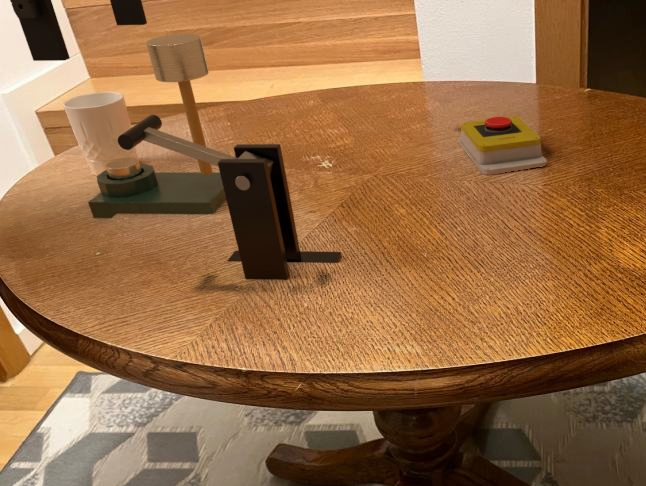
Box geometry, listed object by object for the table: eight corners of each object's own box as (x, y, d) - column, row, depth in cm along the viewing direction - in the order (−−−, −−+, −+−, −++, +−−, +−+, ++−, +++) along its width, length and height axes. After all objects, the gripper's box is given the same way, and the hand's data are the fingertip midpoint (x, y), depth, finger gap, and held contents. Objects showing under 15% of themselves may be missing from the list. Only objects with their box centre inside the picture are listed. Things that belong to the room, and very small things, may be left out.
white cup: (85, 166, 108) (61, 97, 103) (140, 155, 111) (120, 88, 106) (89, 183, 103) (64, 111, 97) (147, 171, 105) (126, 101, 100)
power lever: (116, 151, 67) (117, 127, 66) (146, 130, 72) (148, 107, 71) (255, 199, 68) (259, 176, 67) (275, 175, 73) (279, 153, 72)
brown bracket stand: (205, 301, 74) (168, 170, 66) (237, 259, 81) (207, 137, 73) (320, 304, 72) (297, 170, 65) (342, 261, 80) (324, 136, 72)
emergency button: (515, 104, 110) (550, 134, 98) (515, 133, 112) (549, 166, 100) (455, 111, 108) (483, 143, 96) (456, 140, 110) (483, 175, 98)
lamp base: (90, 218, 92) (79, 188, 90) (128, 187, 101) (119, 159, 98) (214, 219, 90) (206, 188, 88) (242, 187, 99) (236, 159, 96)
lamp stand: (174, 182, 90) (136, 46, 81) (194, 164, 95) (160, 34, 86) (220, 182, 90) (187, 44, 81) (238, 164, 95) (208, 33, 86)
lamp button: (103, 182, 93) (99, 168, 92) (119, 170, 96) (115, 157, 95) (133, 182, 92) (129, 168, 91) (148, 170, 95) (144, 157, 94)
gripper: (-74, -303, 42) (55, 78, 54) (133, -258, 62) (193, 12, 74) (-191, -295, 43) (-38, 78, 55) (51, -252, 63) (124, 13, 75)
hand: (95, 41), depth 65 cm, fingers open, 13 cm apart
